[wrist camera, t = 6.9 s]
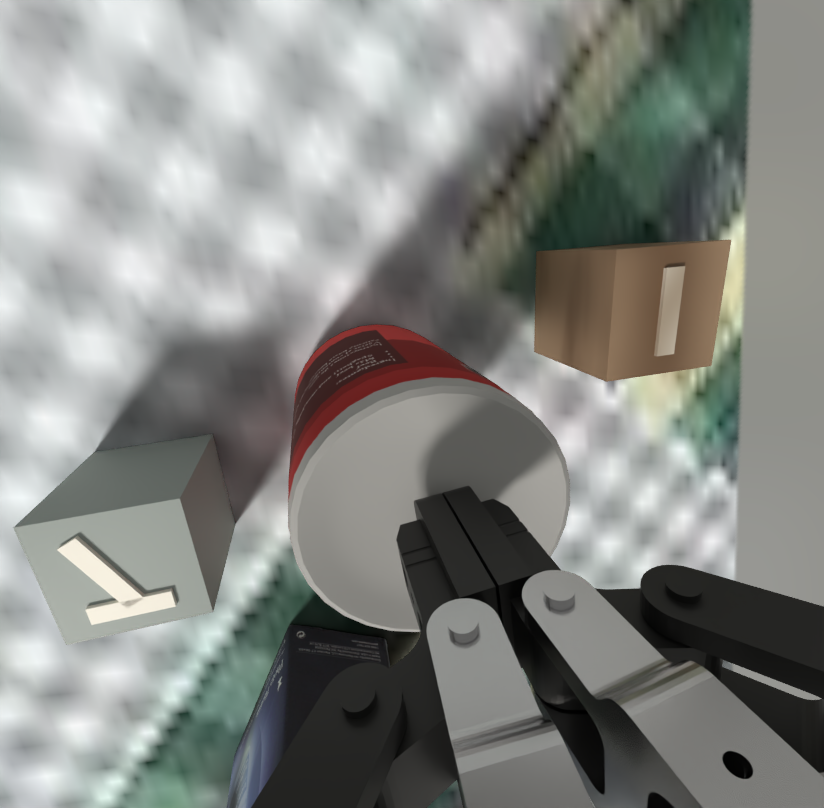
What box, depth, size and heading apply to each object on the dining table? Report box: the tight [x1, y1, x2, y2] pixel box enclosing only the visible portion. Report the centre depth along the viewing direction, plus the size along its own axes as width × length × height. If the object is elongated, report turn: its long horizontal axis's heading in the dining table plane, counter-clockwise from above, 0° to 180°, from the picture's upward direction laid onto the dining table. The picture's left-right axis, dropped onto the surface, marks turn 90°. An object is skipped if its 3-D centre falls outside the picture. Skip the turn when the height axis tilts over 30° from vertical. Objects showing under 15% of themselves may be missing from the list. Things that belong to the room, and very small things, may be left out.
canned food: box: [288, 325, 570, 632], centre depth 17 cm, size 8×8×11 cm
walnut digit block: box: [534, 240, 731, 382], centre depth 20 cm, size 5×5×6 cm
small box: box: [227, 625, 390, 808], centre depth 22 cm, size 11×6×10 cm, turn 156°
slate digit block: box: [14, 434, 235, 645], centre depth 18 cm, size 5×5×6 cm
